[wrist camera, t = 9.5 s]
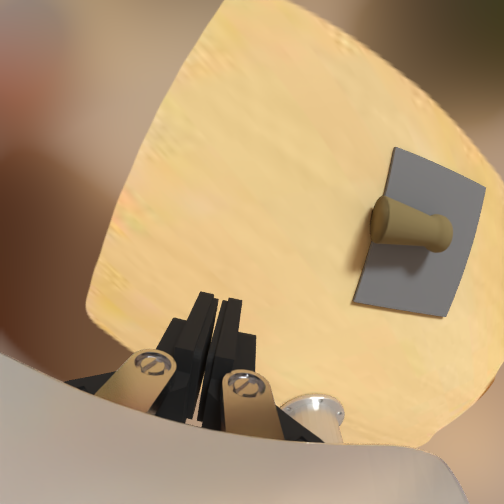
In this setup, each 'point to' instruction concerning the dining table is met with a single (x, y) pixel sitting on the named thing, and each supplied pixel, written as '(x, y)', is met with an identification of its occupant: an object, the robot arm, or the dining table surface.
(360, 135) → the dining table surface
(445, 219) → the cork
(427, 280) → the mat
